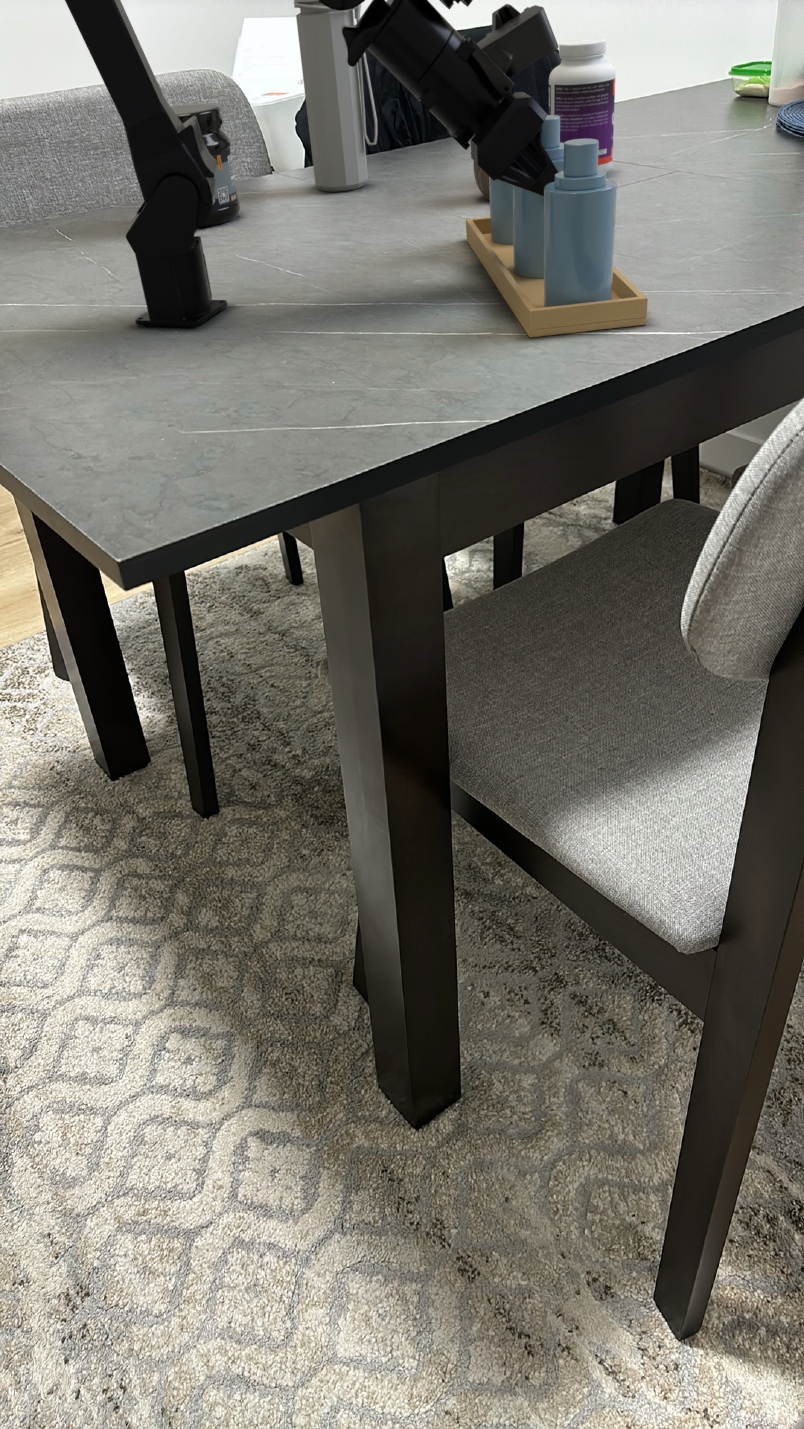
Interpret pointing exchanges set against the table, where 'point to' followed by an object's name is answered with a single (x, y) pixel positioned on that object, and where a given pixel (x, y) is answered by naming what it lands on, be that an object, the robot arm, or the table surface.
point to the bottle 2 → (579, 229)
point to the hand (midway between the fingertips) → (559, 191)
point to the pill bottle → (585, 96)
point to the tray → (528, 293)
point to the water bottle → (333, 97)
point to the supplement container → (219, 148)
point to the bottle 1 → (501, 212)
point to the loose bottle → (534, 210)
